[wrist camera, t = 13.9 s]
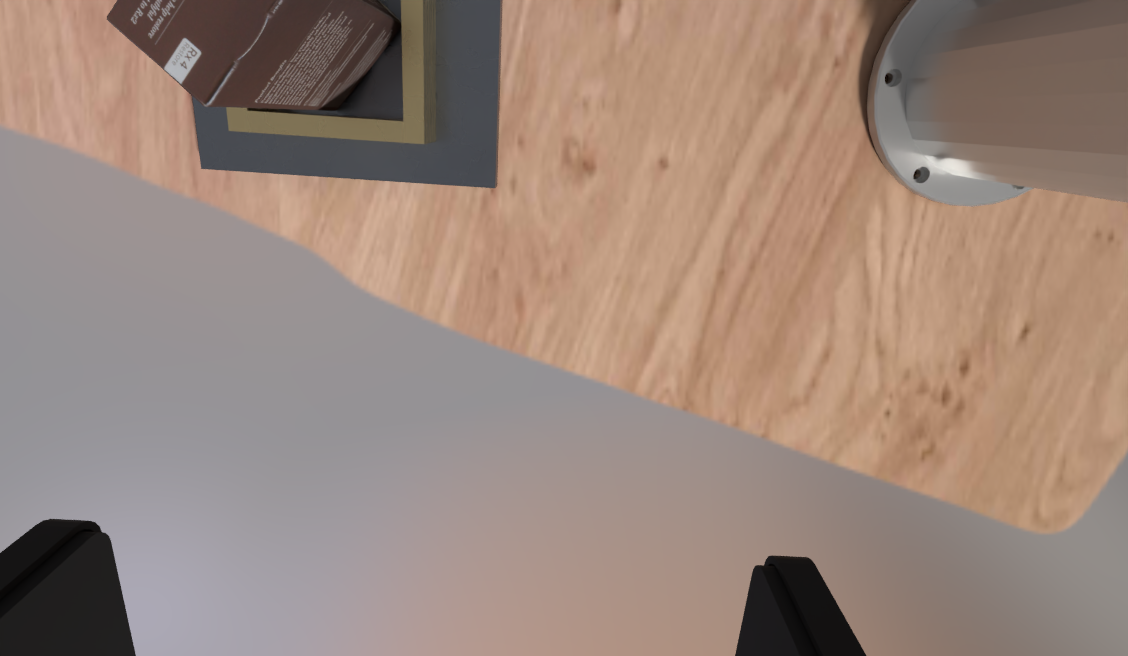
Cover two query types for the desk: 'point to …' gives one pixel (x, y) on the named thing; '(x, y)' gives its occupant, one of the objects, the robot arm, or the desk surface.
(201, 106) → the square socket base
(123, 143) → the desk surface
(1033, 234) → the desk surface
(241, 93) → the box
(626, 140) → the desk surface
